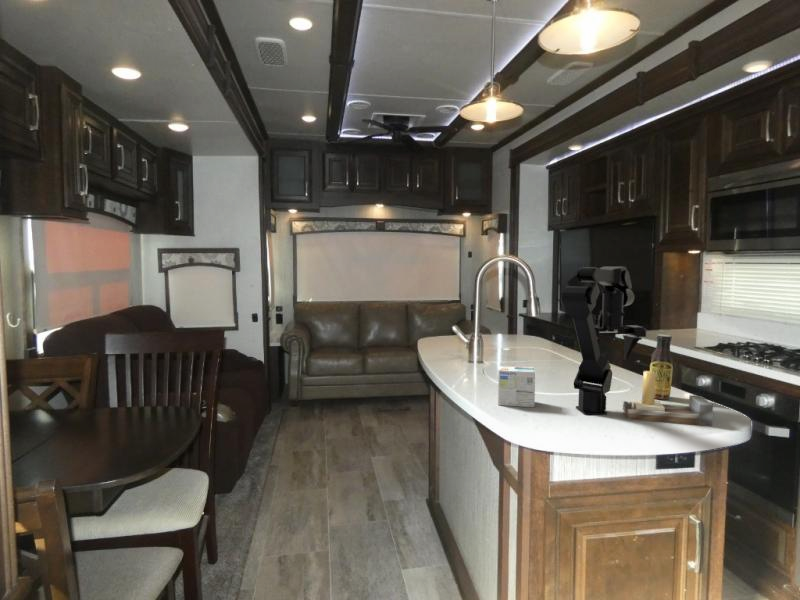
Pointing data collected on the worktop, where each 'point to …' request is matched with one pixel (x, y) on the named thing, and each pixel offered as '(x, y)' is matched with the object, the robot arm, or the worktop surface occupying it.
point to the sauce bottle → (662, 367)
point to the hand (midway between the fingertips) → (610, 359)
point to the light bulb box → (516, 386)
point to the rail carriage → (648, 395)
